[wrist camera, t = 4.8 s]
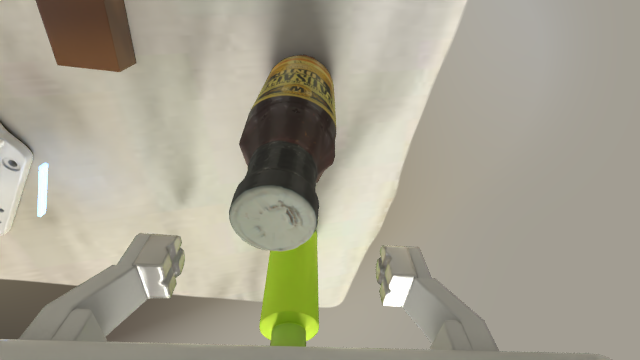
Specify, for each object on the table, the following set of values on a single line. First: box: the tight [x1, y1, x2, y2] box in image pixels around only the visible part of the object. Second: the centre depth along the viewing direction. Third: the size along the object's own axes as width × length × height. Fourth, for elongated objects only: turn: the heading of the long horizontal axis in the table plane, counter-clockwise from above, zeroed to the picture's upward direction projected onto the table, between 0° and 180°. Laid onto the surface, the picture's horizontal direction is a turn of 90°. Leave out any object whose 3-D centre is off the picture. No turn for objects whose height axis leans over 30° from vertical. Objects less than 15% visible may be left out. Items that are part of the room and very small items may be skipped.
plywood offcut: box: [36, 0, 136, 72], centre depth 25 cm, size 8×5×3 cm, turn 173°
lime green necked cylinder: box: [259, 230, 319, 347], centre depth 33 cm, size 6×7×20 cm
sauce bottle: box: [229, 55, 336, 251], centre depth 22 cm, size 7×6×20 cm
